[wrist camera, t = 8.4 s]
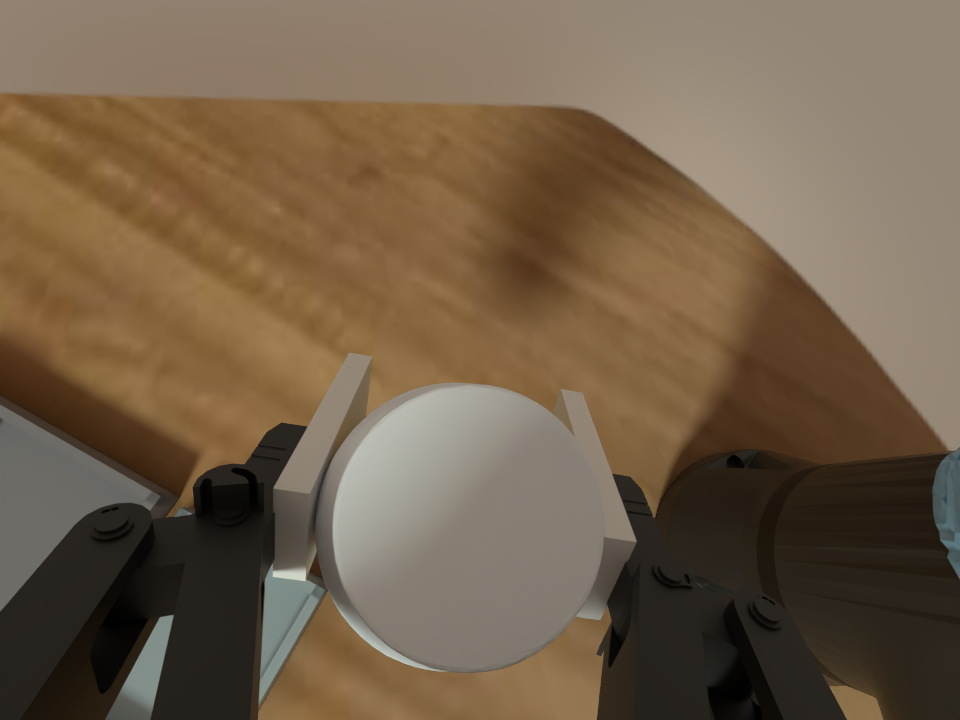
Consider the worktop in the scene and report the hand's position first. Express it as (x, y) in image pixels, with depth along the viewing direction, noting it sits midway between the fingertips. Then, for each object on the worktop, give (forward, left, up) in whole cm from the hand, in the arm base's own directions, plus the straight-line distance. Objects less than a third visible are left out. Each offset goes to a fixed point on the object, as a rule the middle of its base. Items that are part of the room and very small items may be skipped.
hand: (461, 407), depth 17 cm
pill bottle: (+3, +1, -4) cm, 5 cm away
